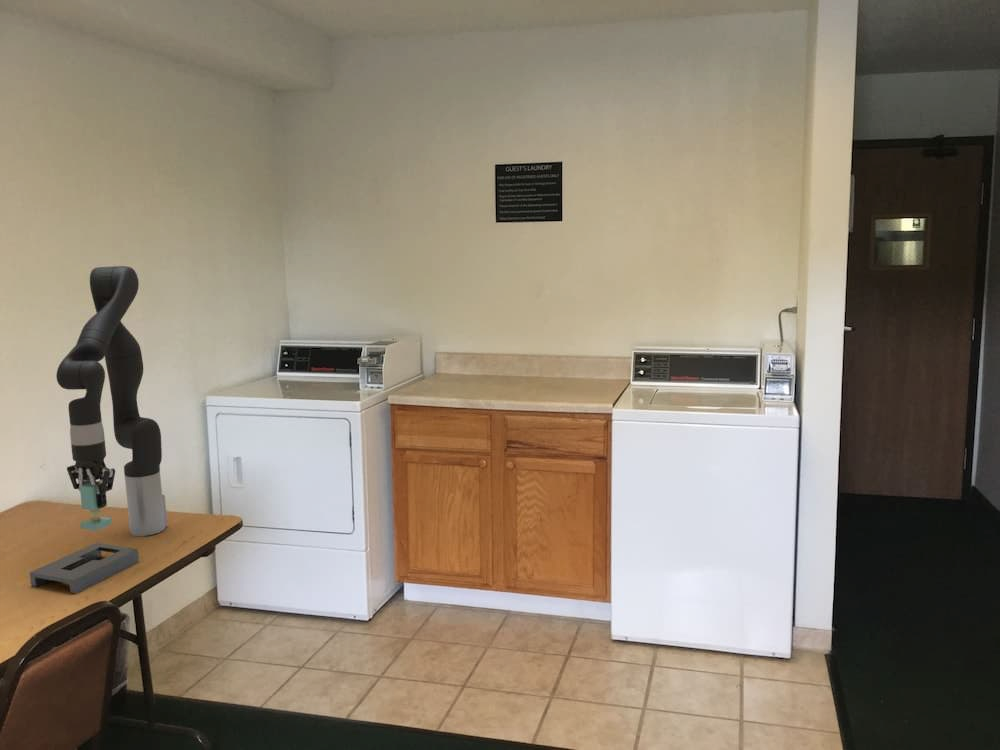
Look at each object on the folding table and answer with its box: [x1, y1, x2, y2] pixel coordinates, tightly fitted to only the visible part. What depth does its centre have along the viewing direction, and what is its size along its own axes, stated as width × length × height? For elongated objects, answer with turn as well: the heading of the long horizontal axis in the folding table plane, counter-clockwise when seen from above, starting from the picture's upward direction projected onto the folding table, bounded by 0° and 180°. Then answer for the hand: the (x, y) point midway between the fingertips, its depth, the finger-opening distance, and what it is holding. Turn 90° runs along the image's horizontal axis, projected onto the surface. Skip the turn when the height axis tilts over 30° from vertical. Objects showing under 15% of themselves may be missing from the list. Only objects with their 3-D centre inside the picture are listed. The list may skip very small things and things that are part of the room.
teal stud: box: [79, 482, 113, 531], centre depth 207 cm, size 5×5×11 cm
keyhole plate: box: [29, 542, 140, 595], centre depth 205 cm, size 20×14×4 cm
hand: (94, 506), depth 207 cm, fingers closed on teal stud, 4 cm apart
